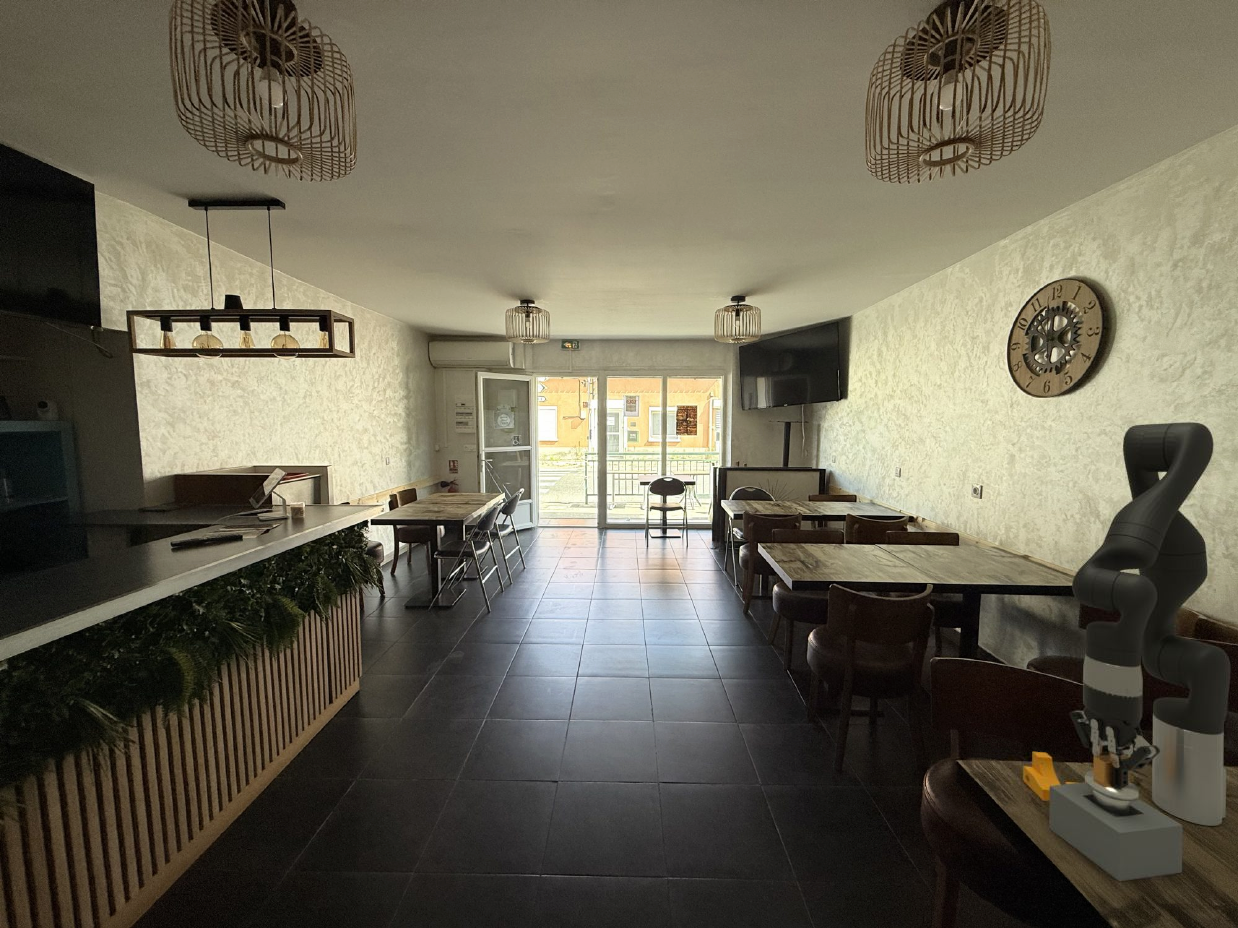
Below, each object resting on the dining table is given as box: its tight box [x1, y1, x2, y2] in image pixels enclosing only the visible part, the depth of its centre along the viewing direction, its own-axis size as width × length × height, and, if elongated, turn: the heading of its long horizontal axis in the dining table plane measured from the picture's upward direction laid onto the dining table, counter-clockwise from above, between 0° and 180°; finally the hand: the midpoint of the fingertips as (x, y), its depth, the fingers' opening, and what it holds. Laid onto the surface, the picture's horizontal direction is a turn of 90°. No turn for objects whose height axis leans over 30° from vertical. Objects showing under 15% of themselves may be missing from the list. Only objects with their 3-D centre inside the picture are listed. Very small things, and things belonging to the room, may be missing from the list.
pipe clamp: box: [1022, 751, 1076, 802], centre depth 104 cm, size 12×4×6 cm, turn 171°
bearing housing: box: [1048, 781, 1184, 882], centre depth 91 cm, size 12×12×8 cm
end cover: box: [1084, 754, 1140, 816], centre depth 91 cm, size 7×7×9 cm
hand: (1111, 782), depth 91 cm, fingers closed on end cover
